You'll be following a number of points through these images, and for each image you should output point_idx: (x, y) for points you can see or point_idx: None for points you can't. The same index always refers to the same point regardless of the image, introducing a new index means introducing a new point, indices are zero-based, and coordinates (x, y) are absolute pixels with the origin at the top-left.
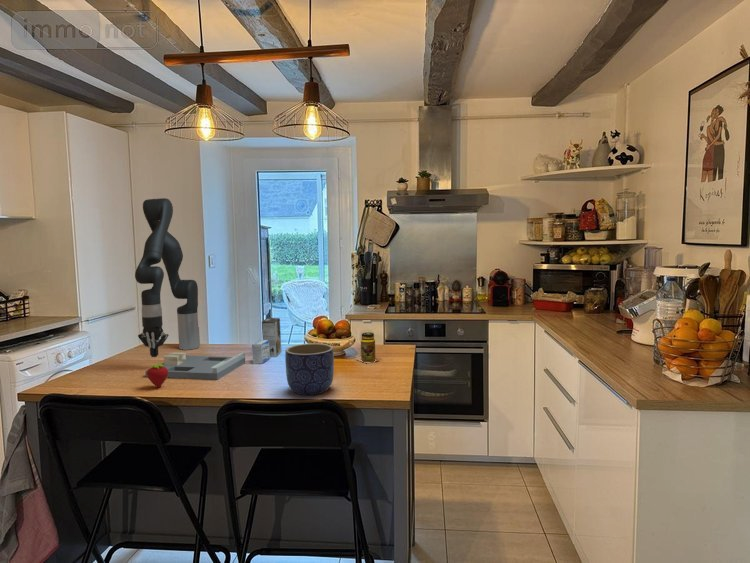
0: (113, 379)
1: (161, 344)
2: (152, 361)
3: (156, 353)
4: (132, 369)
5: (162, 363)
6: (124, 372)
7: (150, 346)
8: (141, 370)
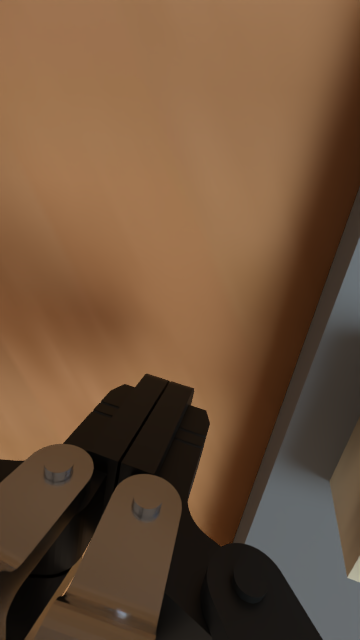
0: None
1: (274, 632)
2: (42, 44)
3: (196, 471)
4: (27, 341)
5: (293, 431)
6: (21, 409)
7: (55, 567)
8: (111, 383)
